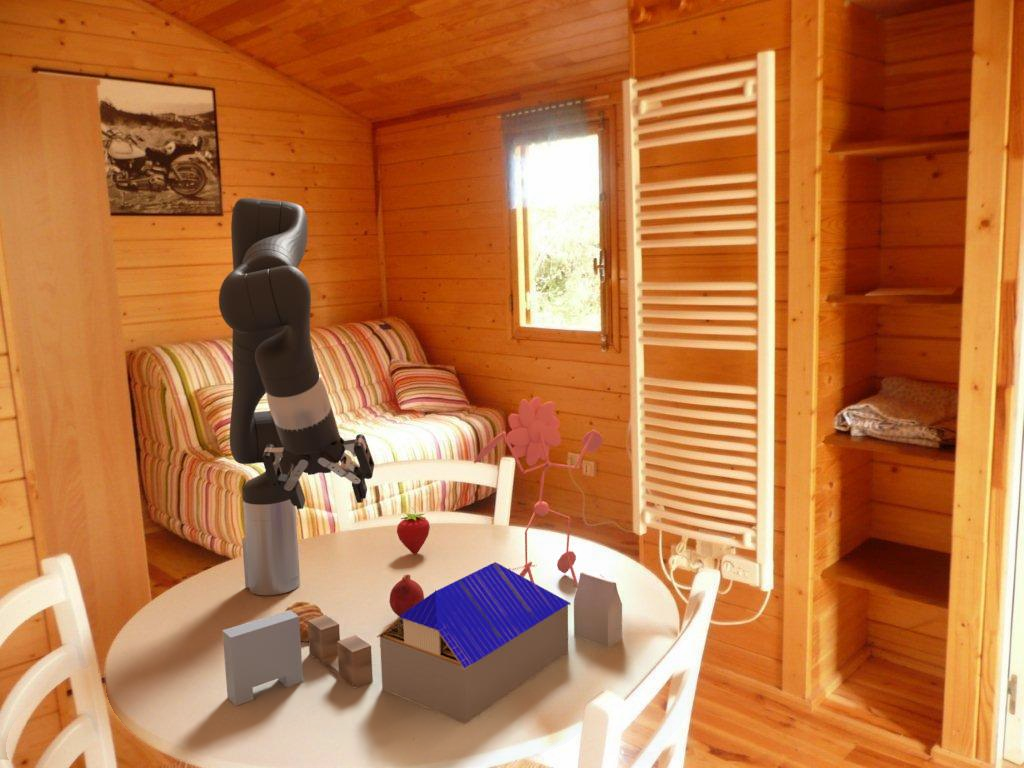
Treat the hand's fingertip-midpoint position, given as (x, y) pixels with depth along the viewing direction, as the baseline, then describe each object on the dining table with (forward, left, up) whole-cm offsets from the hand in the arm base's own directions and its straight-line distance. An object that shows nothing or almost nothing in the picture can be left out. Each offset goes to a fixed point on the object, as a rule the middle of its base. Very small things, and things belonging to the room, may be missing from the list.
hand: (331, 502), depth 119 cm
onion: (-3, +20, -27) cm, 34 cm away
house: (+17, +12, -27) cm, 34 cm away
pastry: (-16, +10, -27) cm, 33 cm away
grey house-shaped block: (+28, +29, -27) cm, 49 cm away
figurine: (+8, +45, -27) cm, 53 cm away
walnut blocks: (-2, +2, -27) cm, 27 cm away
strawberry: (-21, +46, -27) cm, 58 cm away
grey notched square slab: (-7, -8, -27) cm, 29 cm away
